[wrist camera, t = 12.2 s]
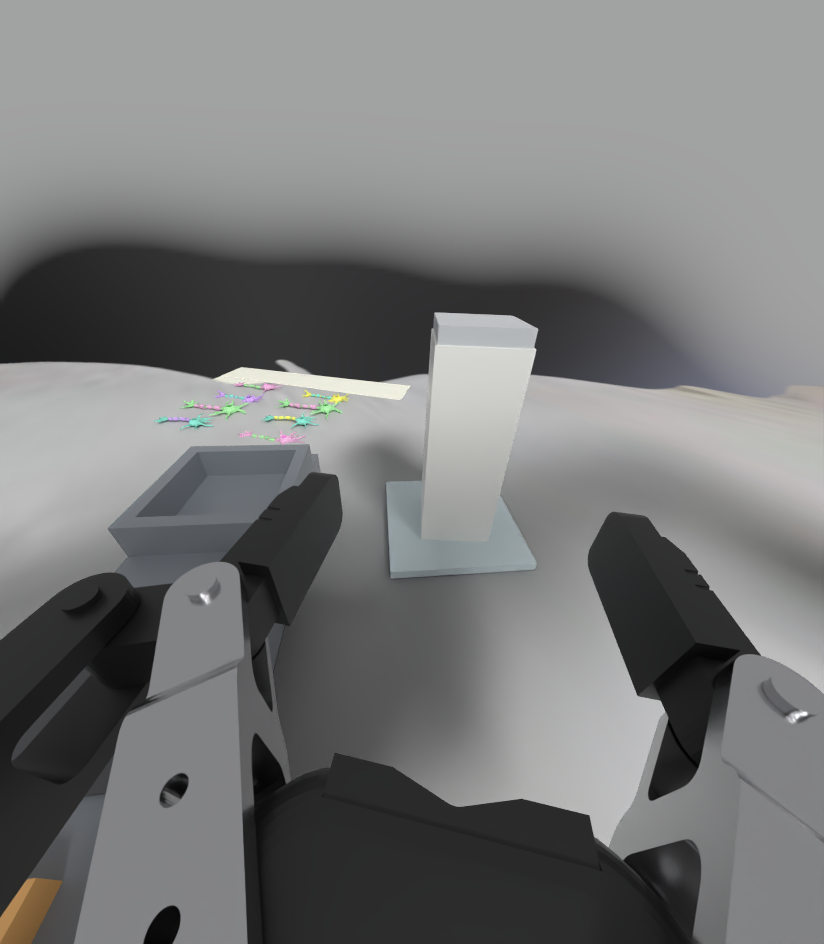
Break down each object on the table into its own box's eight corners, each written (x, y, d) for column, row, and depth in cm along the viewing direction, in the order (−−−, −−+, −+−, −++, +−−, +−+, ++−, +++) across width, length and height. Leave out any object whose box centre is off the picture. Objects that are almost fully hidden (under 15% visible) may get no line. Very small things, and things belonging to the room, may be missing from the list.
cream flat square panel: (410, 388, 47) (410, 378, 46) (319, 519, 23) (316, 505, 22) (242, 369, 52) (239, 360, 51) (25, 461, 28) (13, 447, 27)
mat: (489, 483, 26) (491, 478, 26) (534, 569, 19) (537, 563, 19) (386, 487, 25) (386, 481, 25) (390, 578, 18) (390, 572, 18)
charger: (477, 499, 23) (514, 315, 16) (487, 542, 20) (541, 329, 13) (420, 497, 23) (432, 312, 16) (420, 539, 20) (436, 325, 13)
